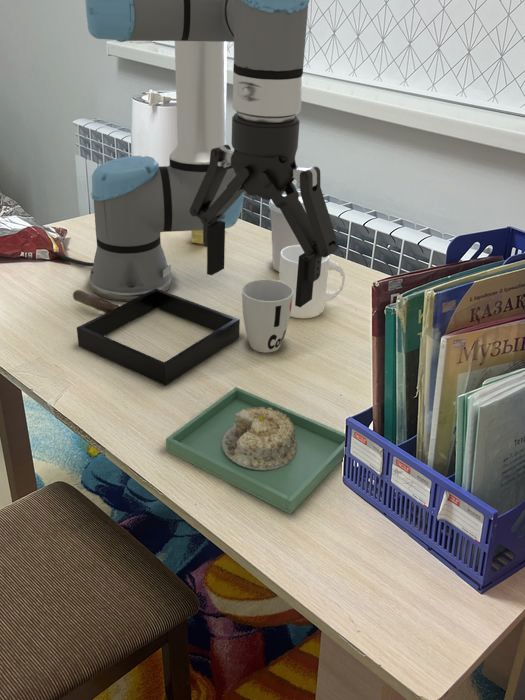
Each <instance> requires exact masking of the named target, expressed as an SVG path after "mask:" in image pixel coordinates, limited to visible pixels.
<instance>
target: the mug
mask: <svg viewBox="0 0 525 700" xmlns="http://www.w3.org/2000/svg"><path fill="white" fill-rule="evenodd" d="M303 253H304V251H303V249H302V247H301V246H300V245H293V246H289V247H286V248H284V249H283V250H282V251H281V253H280V270H279V272H278V281H281V282H284V283H286V284H288V285H289V286H291V288H292V289H293V297H292V305H291V313H290V318H296V319H313V318H315V317H318V316H319V315H321V314H322V313H323V312H324V309H325V305H326V302H330V301H332V300H334V299H336V298H337V297H338V296H339V295H340V294H341V292H342V291H343V288H344V285H345V281H346V276H345V271H344V269H343V268H342V267H341V265H340V264H338V263H337V262H335V261H333V260H331V258H330V255H331V254H330V255H329V256H327V257H322V261H321V272H320V276H319V278H318V279H317V280H316V281H314V282H313V293H312V300H310V301H309V302H307V303H306V304H305V305H303V306H302V307H298V306H295V299H296V286H297V274H298V261H299V256H300V255H302V254H303ZM329 271H335V272H337V273H339V275H340V276H341V284H340V286H339V288H338V289H337V290H335V291H327V288H328V276H329Z"/></svg>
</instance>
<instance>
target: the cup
mask: <svg viewBox="0 0 525 700" xmlns="http://www.w3.org/2000/svg"><path fill="white" fill-rule="evenodd" d="M292 297H293V289H292V288H291V286H289V285H288V284H286V283H284V282H281V281H279V280H276V279H266V278H265V279H256V280H251V281H249V282H247V283H245V284H244V285H242V287H241V301H242V303H241V304H242V317H243V323H244V331H245V334H246V337H247V340H248V343H249V347H250V348H251V349H253V350H254V351H256V352H259V353H273V352H276V351H278V350H279V349H280V348H281V345H282V343H283V341H284V339H285V337H286V334H287V330H288V325H289V323H290V318H291V316H290V313H291V305H292Z"/></svg>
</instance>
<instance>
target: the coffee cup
mask: <svg viewBox="0 0 525 700" xmlns="http://www.w3.org/2000/svg"><path fill="white" fill-rule="evenodd" d="M296 190H297V189H296ZM297 192H298V194H299V197H298V198H299V201H300V202H301V204H302V206H303V208H304V210H305V207H304V204H303V201H302V197H301V192H300V190H297ZM282 195H283V196H287V195H286V193H285V191H284V193H283V194H282ZM268 201H269V202H268V205H267V206H268V208H269V209H270V228H271V229H270V230H271V253H272V255H271V256H272V269H273V270H274V271H276V272H278V273H279V270H280V253H281V251H282V250H283V249H284V248H286V247H289V246H293V245H300V244H299V242H298V240H297V238H296V237H295V235H294V233H293V231H292V229H291V228H290V226H289V224H288V222H287V220H286V219H285V217H284V215H283V213H282V211H281V210H280V208H277V207H276V206H275V204H274V203H273V201H272V199H270V200H268ZM305 211H306V210H305Z"/></svg>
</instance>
